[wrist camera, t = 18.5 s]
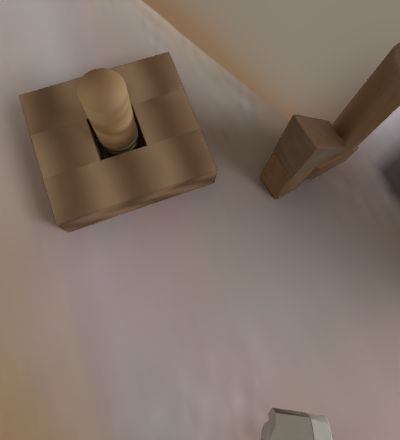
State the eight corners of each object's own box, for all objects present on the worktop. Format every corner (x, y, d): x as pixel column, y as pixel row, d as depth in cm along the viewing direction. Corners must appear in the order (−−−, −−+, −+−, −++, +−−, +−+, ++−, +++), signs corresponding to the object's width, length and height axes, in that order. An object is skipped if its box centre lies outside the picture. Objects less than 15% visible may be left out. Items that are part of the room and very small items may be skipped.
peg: (135, 127, 44) (118, 62, 33) (146, 158, 43) (133, 103, 32) (100, 137, 44) (70, 75, 32) (110, 170, 43) (84, 117, 31)
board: (170, 73, 47) (168, 51, 43) (214, 182, 43) (217, 169, 39) (33, 114, 44) (18, 95, 40) (68, 232, 41) (56, 224, 37)
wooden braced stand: (258, 175, 44) (307, 86, 26) (329, 137, 45) (420, 29, 28) (274, 201, 43) (336, 126, 25) (346, 160, 45) (450, 64, 27)
